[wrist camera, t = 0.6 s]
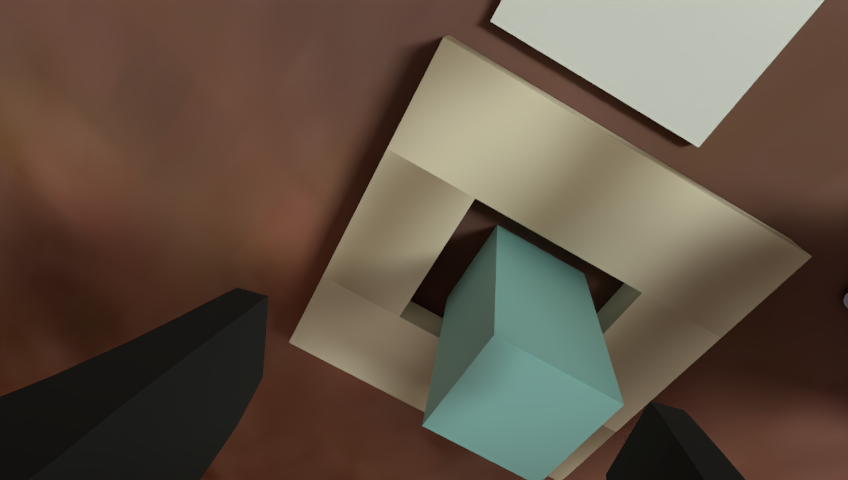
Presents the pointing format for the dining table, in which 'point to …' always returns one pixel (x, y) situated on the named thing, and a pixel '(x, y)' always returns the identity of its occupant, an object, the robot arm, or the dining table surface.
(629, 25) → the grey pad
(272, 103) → the dining table surface
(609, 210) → the board
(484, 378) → the teal block
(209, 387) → the robot arm
